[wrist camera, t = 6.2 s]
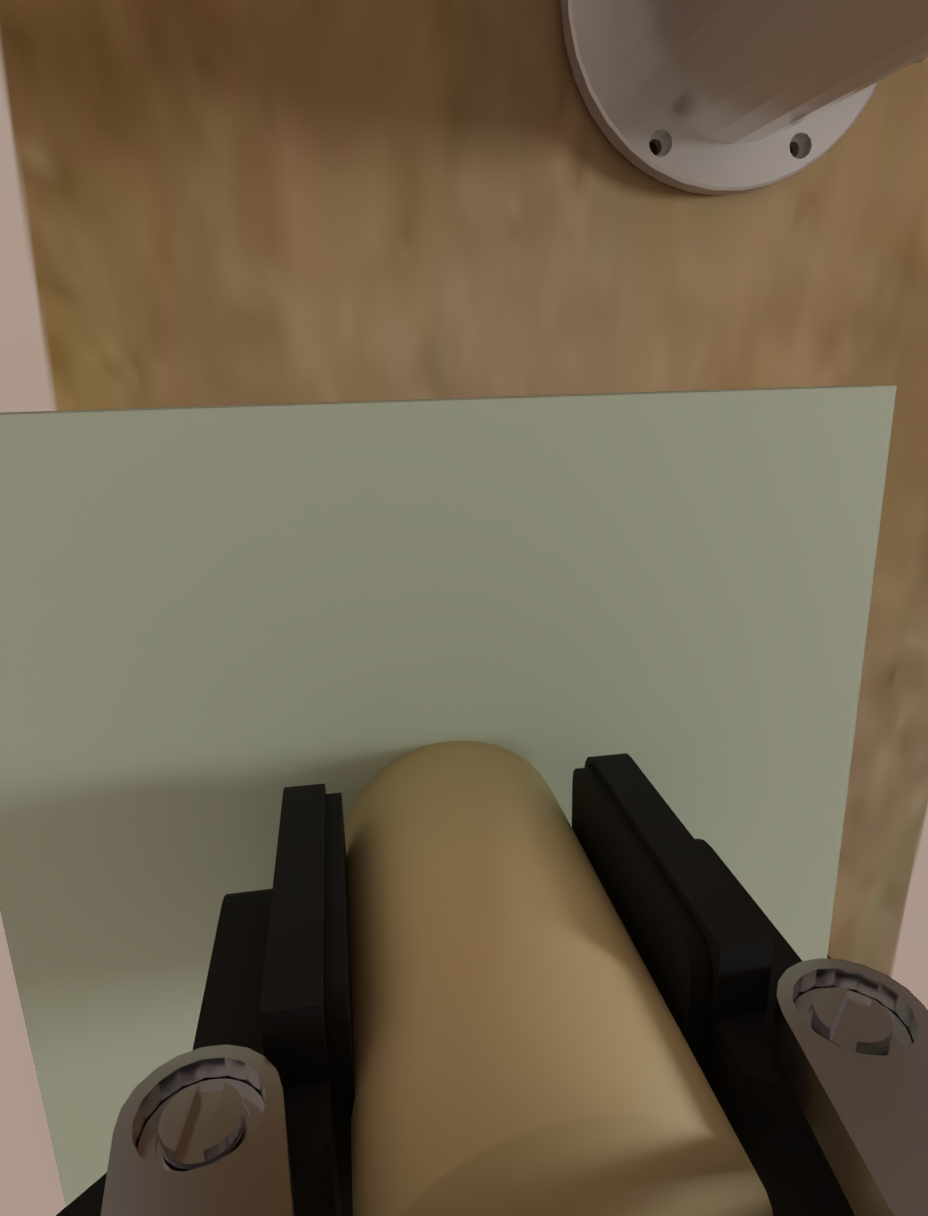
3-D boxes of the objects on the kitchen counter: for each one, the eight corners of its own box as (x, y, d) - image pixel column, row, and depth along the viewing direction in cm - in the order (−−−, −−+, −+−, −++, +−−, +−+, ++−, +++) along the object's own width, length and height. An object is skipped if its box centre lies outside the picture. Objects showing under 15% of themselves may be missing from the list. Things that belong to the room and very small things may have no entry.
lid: (833, 384, 12) (1528, 397, 5) (768, 1045, 16) (1125, 1592, 9) (-53, 412, 10) (-866, 493, 3) (97, 1153, 14) (-143, 1955, 7)
